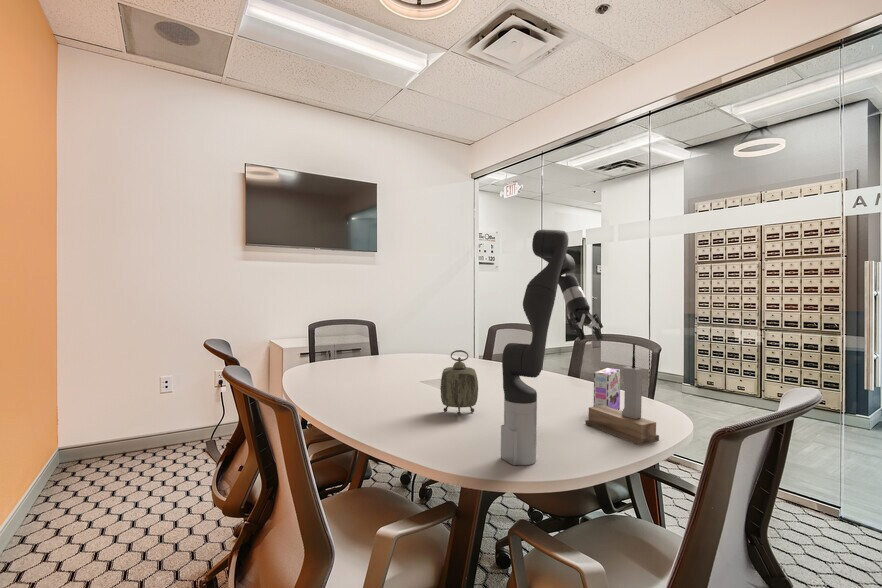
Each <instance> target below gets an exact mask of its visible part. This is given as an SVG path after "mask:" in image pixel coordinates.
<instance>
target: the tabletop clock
mask: <svg viewBox="0 0 882 588" xmlns="http://www.w3.org/2000/svg"><path fill="white" fill-rule="evenodd" d="M454 353H464V354H465V355H466V356H467V357H466V358H461V357H460V356H458V358H454V357H453V354H454ZM450 358H451V359H452V360H453V361H455V362H454V363H453V364H452V366H449V367H445V368H443V370H442V373H441V380H440V388H439V390H440V398H441V402H442V405H443V406H445V407H444V408H443V412H444V413H446V412H448V408H450V407H452V408H458V409H457V410H458V411H457V413H456V415H457V416H458V417H460V416H462V413H461V408H469V409H470V410H469V411H470V412H471V413H474V412H475V408H473V407H475V406H476V403H477V402H478V397H479V381H478V376H477V372H476V369H474V368H472V367H468V366H466V364H465V363H464V361H466V360H468V359H469V353H468V352H467V351H465V350H462V349H459V350H457V349H456V350H454V351H452V352H451V353H450Z"/></svg>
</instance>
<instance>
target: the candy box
mask: <svg viewBox="0 0 882 588" xmlns="http://www.w3.org/2000/svg"><path fill="white" fill-rule="evenodd" d="M620 401H621V369H619V368H618V369H617V368H611V367H610V368H609V367H606V368H604V369H601V370H597V371H594V373H593V406H592V407H594V406H601V405H603V406H607V407H610V408H613V409H616V410H617V409H618V410H620V409H621V405H620V404H621V402H620ZM619 408H620V409H619Z"/></svg>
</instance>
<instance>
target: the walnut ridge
mask: <svg viewBox="0 0 882 588" xmlns="http://www.w3.org/2000/svg"><path fill="white" fill-rule="evenodd" d="M593 406H594V405H593ZM593 406H589V407H588V419H586V420H585V425H586V424H587V425H586V426H588V425H589V426H588V427H591V428H594V429H596V430H599V431H601V432H605V433H606V434H609V435H611V436H612V435H613V436H615V437H617V438H620V439H622V440H624V441H628V442H630V443H633V444H635V445H637V446H639V445H642V444H646V443H651V442H652V443H653V442H657V441H659V440H660V435H659V434H657V422H656V421H654V420H651V419H647V418H644V417H641V418H638V419H631V418H627V417H624V416H622V411H623V410H620V409H618V410H616V409H613V408H610V407H607V406H603V405H601V406H594V407H593Z"/></svg>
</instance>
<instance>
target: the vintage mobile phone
mask: <svg viewBox="0 0 882 588" xmlns="http://www.w3.org/2000/svg"><path fill="white" fill-rule="evenodd" d="M631 361H632V366H629V365H627V366H622V367H621V369H622V372H621V373H622V383H623V384H624V402H623V403H624V407H623V408H622V410H621V411H622V416H624V417H627V418H631V419H638V418H642V400H643V399H642V386H643V384H642V383H643V382H642V381H643V380H642V379H643V378H642V377H643V369H642V368H641V367H636V343H632V359H631Z"/></svg>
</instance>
